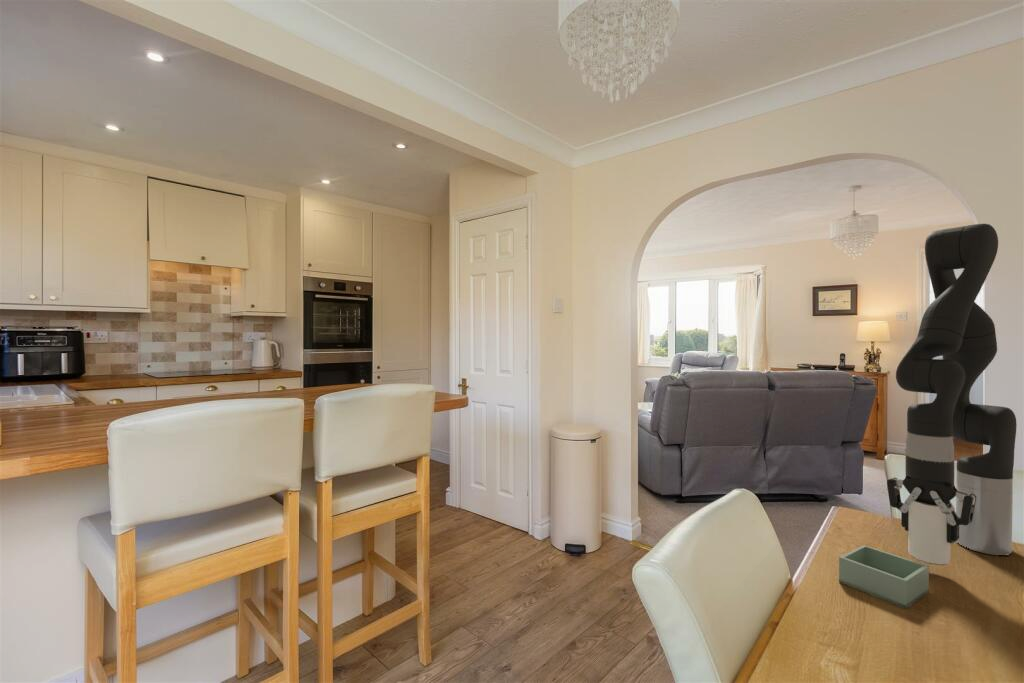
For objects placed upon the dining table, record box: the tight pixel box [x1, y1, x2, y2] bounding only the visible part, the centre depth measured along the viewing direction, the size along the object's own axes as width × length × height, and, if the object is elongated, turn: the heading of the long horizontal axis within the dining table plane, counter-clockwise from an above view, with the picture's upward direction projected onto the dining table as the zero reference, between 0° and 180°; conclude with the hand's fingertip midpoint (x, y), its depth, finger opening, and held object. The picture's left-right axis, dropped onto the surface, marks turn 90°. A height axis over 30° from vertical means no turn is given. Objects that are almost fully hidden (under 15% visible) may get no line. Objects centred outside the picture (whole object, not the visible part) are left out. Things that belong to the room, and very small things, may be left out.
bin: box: [838, 544, 930, 609], centre depth 91 cm, size 11×11×5 cm
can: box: [907, 499, 951, 566], centre depth 97 cm, size 6×6×12 cm
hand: (929, 535), depth 96 cm, fingers closed on can, 6 cm apart
